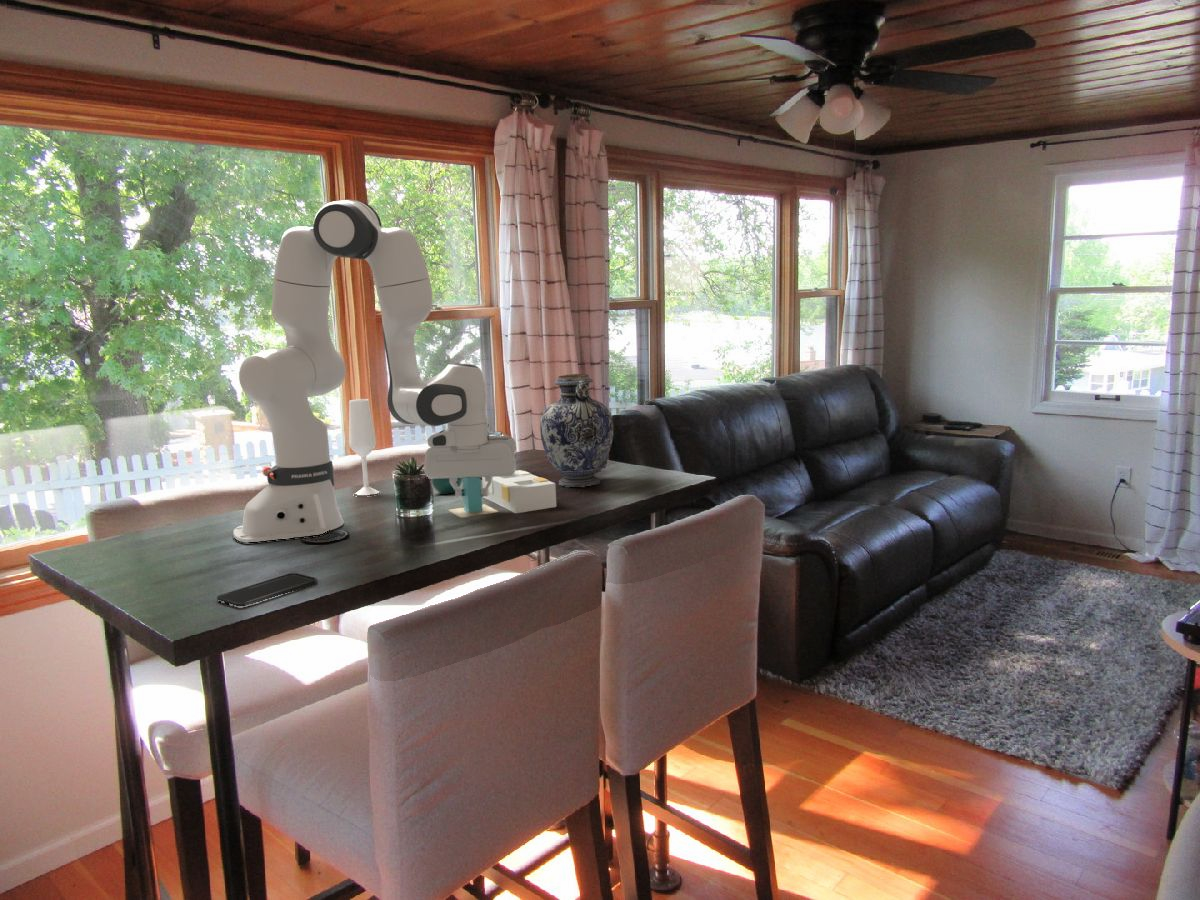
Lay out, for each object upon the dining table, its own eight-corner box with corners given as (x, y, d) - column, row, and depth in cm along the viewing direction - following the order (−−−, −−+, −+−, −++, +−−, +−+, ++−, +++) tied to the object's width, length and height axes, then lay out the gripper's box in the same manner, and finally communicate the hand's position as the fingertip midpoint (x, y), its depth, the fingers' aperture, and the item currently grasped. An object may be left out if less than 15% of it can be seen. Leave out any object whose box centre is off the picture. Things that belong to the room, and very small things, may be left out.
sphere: (425, 493, 220) (423, 462, 218) (454, 488, 224) (452, 458, 223) (440, 498, 213) (438, 466, 212) (469, 493, 218) (467, 462, 217)
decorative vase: (625, 487, 217) (620, 375, 212) (552, 495, 212) (545, 381, 208) (604, 472, 237) (598, 370, 232) (537, 479, 233) (530, 375, 228)
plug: (469, 513, 195) (466, 475, 193) (464, 510, 197) (461, 473, 196) (482, 511, 196) (480, 473, 195) (477, 508, 199) (475, 471, 198)
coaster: (461, 520, 191) (461, 517, 191) (447, 512, 199) (447, 509, 199) (499, 514, 195) (499, 511, 195) (484, 506, 203) (484, 504, 203)
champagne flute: (376, 496, 219) (368, 401, 215) (349, 497, 219) (341, 402, 215) (383, 490, 225) (376, 398, 221) (357, 491, 226) (349, 399, 221)
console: (514, 515, 193) (513, 488, 192) (482, 499, 210) (480, 474, 209) (556, 509, 198) (555, 482, 197) (521, 493, 215) (520, 468, 214)
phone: (320, 579, 151) (240, 604, 139) (320, 585, 151) (241, 611, 139) (292, 572, 155) (213, 596, 143) (293, 578, 155) (214, 602, 144)
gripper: (516, 432, 197) (519, 491, 199) (426, 435, 197) (430, 494, 200) (513, 436, 190) (516, 498, 193) (420, 439, 191) (424, 500, 193)
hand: (472, 496), depth 196 cm, fingers closed on plug, 4 cm apart
